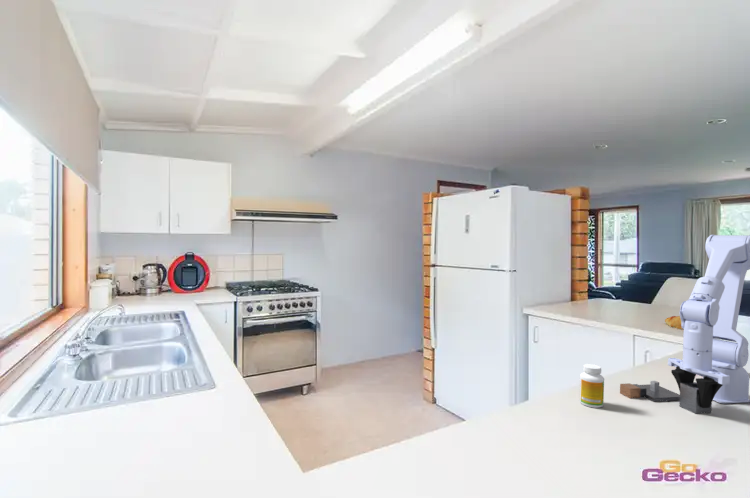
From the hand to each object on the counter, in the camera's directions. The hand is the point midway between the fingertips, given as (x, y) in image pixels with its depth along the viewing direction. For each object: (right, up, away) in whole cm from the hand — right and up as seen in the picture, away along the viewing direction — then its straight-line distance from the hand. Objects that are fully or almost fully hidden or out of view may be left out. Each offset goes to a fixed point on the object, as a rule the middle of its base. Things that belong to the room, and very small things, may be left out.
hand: (695, 403), depth 101 cm
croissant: (+72, -1, +98) cm, 121 cm away
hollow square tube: (0, -2, 0) cm, 2 cm away
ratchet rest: (-6, -1, +9) cm, 11 cm away
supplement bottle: (-25, -1, +2) cm, 25 cm away
